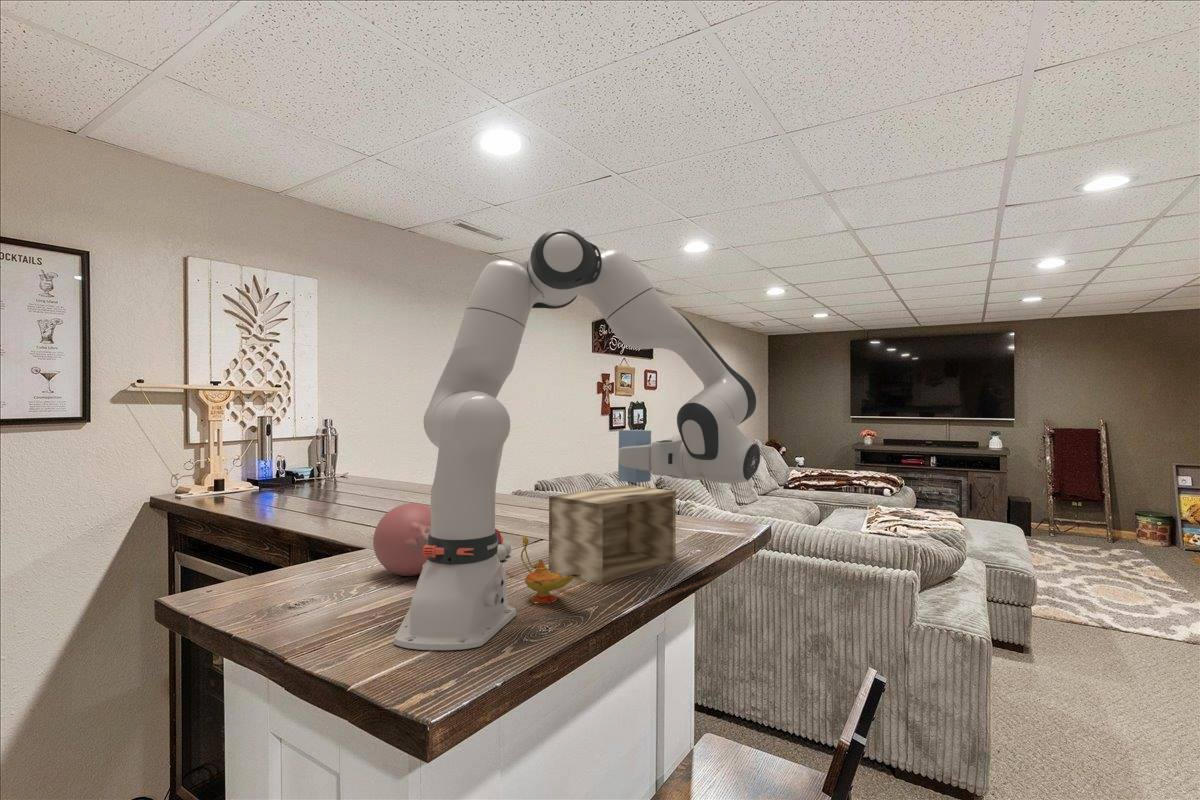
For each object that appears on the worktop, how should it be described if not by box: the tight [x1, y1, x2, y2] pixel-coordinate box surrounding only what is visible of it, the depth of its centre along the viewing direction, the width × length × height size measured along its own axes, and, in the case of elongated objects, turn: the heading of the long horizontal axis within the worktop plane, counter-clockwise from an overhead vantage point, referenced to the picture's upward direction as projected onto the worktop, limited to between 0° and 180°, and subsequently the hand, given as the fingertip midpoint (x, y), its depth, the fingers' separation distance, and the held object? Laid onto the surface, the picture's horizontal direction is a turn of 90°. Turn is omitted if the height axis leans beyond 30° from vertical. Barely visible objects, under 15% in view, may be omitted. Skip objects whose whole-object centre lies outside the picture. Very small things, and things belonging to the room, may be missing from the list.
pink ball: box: [372, 502, 431, 577], centre depth 126 cm, size 15×20×15 cm
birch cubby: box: [548, 484, 677, 585], centre depth 132 cm, size 15×26×17 cm, turn 137°
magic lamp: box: [520, 535, 581, 604], centre depth 110 cm, size 7×18×11 cm, turn 42°
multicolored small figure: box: [495, 528, 512, 562], centre depth 141 cm, size 8×10×7 cm
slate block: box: [617, 429, 652, 484], centre depth 128 cm, size 5×5×11 cm
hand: (631, 453), depth 129 cm, fingers closed on slate block, 5 cm apart
